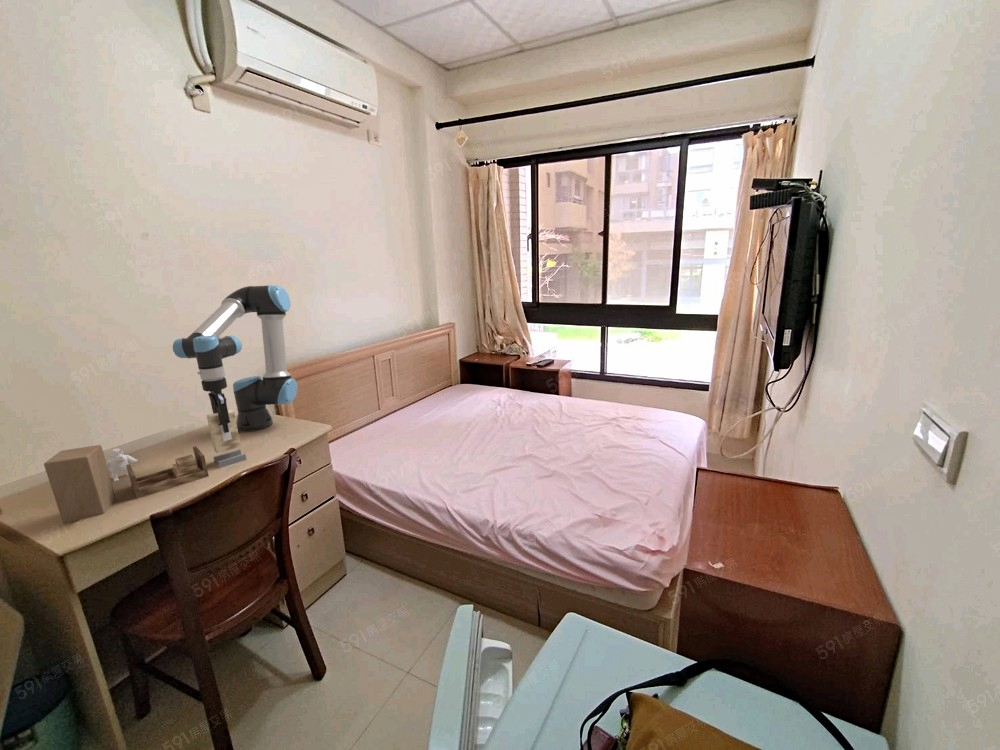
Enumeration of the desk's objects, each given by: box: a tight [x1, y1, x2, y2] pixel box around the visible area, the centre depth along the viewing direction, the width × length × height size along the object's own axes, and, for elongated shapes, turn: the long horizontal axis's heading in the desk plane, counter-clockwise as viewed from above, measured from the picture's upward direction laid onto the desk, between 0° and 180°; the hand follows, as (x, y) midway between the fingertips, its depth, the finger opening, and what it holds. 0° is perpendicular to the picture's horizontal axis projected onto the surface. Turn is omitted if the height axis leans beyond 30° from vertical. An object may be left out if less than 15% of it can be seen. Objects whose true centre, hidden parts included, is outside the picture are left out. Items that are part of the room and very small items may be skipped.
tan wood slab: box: [206, 409, 242, 454], centre depth 162 cm, size 8×4×14 cm, turn 136°
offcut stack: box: [171, 454, 201, 478], centre depth 154 cm, size 7×8×6 cm
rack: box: [126, 446, 210, 499], centre depth 150 cm, size 20×12×9 cm, turn 136°
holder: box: [213, 449, 247, 469], centre depth 165 cm, size 10×10×3 cm
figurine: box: [106, 448, 139, 482], centre depth 154 cm, size 9×7×12 cm
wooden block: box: [43, 444, 117, 525], centre depth 132 cm, size 10×10×20 cm
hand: (225, 438), depth 163 cm, fingers closed on tan wood slab, 4 cm apart
